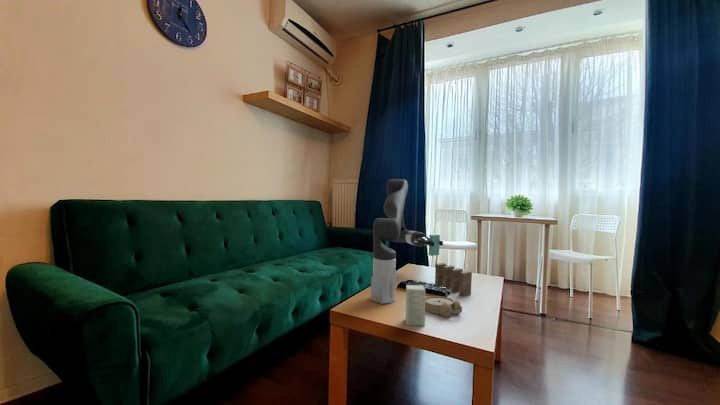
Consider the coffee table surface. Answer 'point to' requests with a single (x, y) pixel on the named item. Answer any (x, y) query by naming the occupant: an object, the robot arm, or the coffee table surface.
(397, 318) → the coffee table surface
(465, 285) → the domino
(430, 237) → the teal domino
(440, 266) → the domino
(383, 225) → the robot arm
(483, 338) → the coffee table surface
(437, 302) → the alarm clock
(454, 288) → the domino
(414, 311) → the skincare box
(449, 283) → the domino
